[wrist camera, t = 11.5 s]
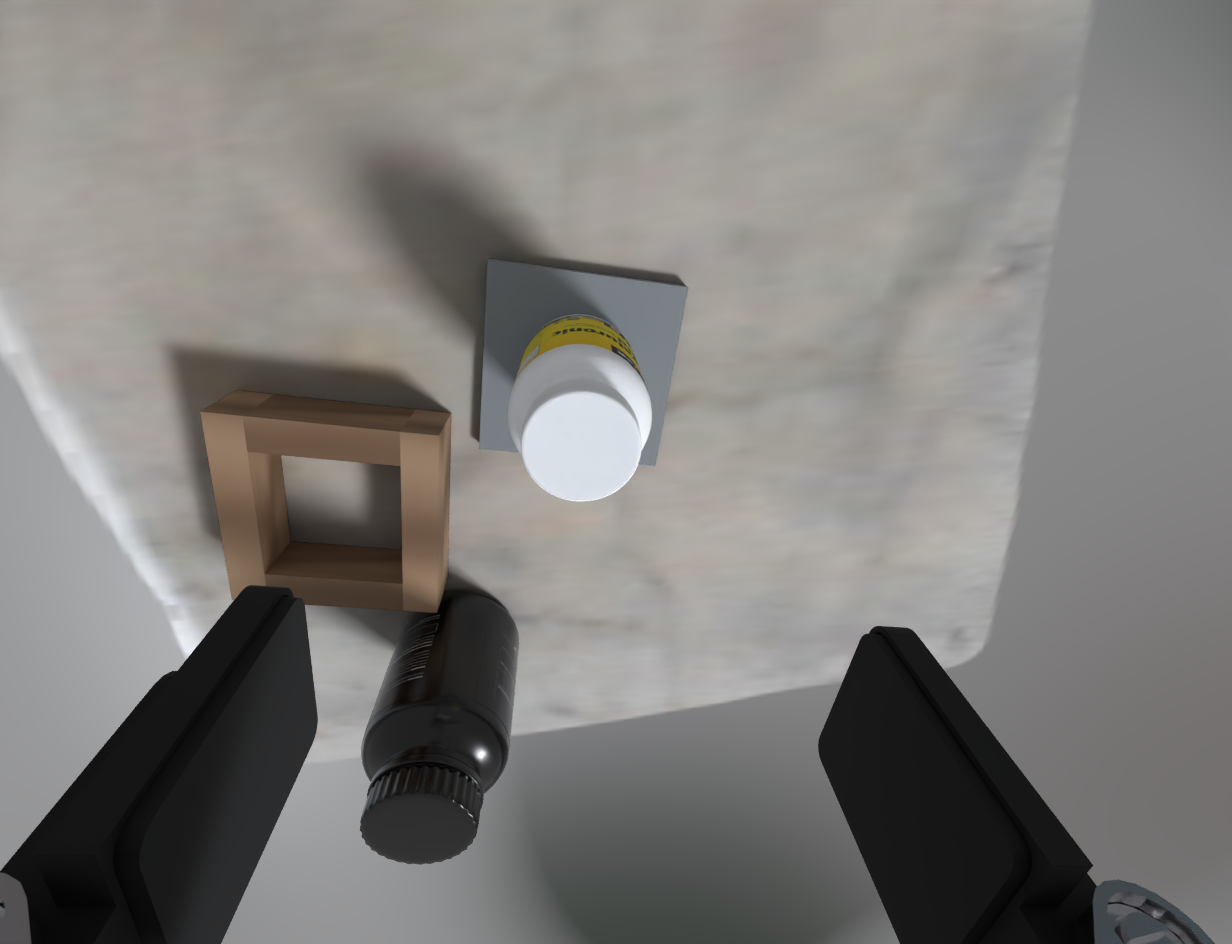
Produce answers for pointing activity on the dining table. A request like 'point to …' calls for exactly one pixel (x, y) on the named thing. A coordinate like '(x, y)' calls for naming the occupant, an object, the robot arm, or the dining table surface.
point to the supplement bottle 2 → (579, 408)
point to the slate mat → (548, 293)
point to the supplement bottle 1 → (439, 729)
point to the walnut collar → (305, 427)
